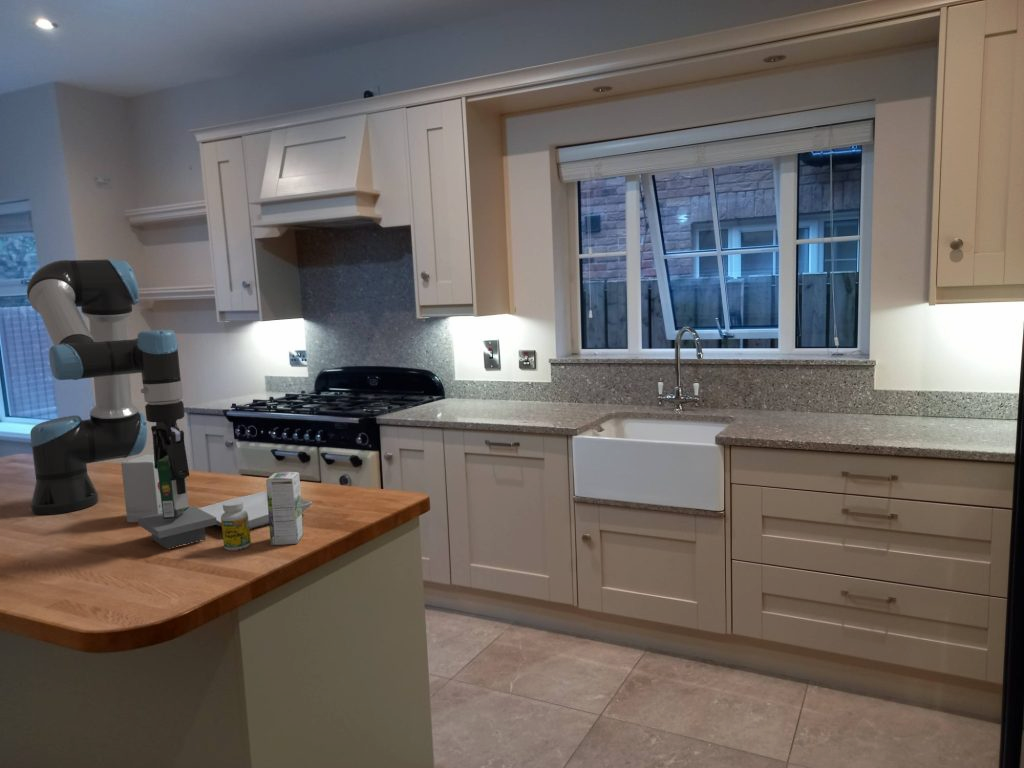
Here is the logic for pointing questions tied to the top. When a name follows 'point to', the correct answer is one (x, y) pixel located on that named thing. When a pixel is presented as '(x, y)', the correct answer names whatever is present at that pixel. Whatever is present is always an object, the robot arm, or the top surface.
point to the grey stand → (178, 527)
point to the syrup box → (284, 508)
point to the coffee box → (167, 490)
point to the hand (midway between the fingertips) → (175, 504)
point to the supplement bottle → (235, 526)
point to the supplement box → (141, 488)
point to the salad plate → (249, 509)
